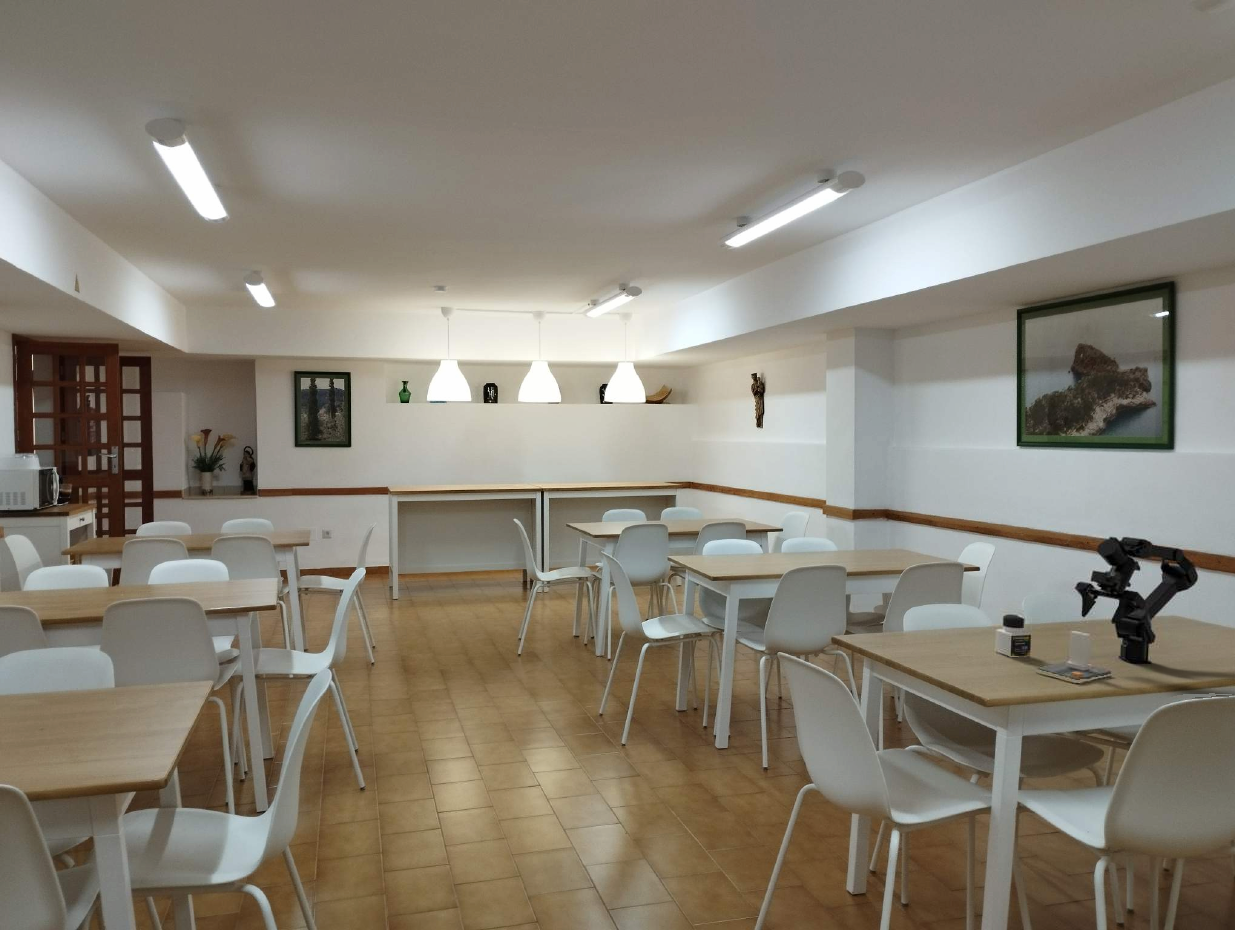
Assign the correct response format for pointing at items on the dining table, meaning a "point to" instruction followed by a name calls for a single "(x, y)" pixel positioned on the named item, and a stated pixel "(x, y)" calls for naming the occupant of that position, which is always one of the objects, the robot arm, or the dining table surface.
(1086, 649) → the tab
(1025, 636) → the medicine bottle
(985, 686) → the dining table surface
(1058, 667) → the switch panel
